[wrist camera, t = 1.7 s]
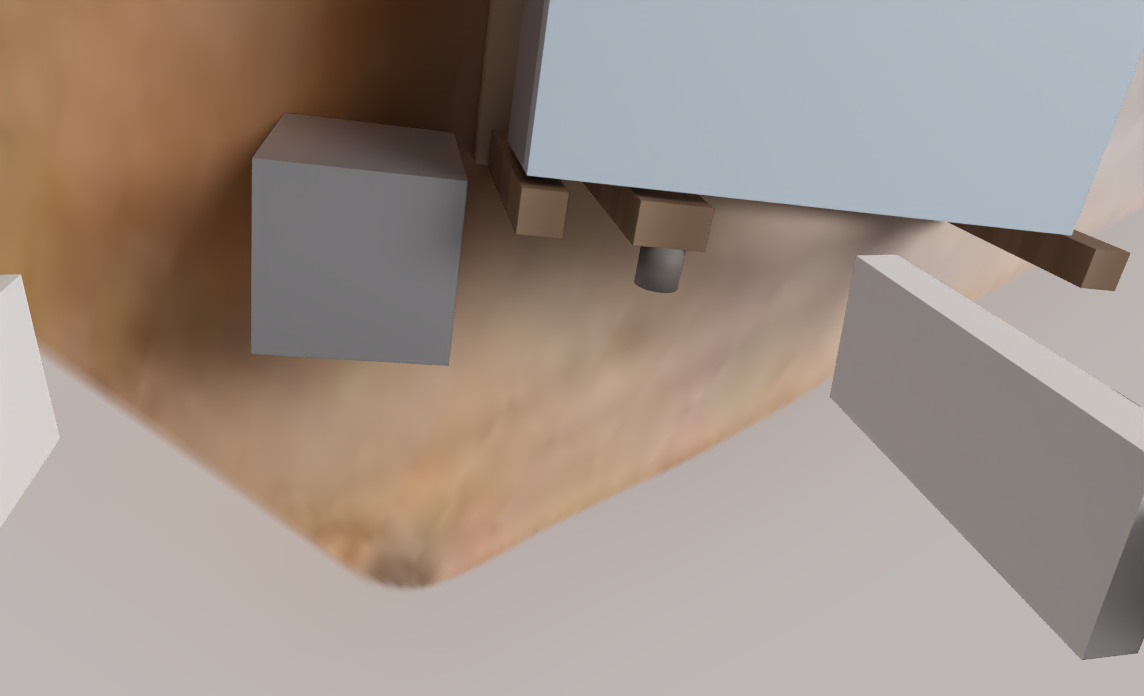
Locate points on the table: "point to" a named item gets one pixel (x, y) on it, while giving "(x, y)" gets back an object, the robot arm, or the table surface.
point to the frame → (684, 217)
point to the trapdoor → (831, 101)
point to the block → (355, 241)
